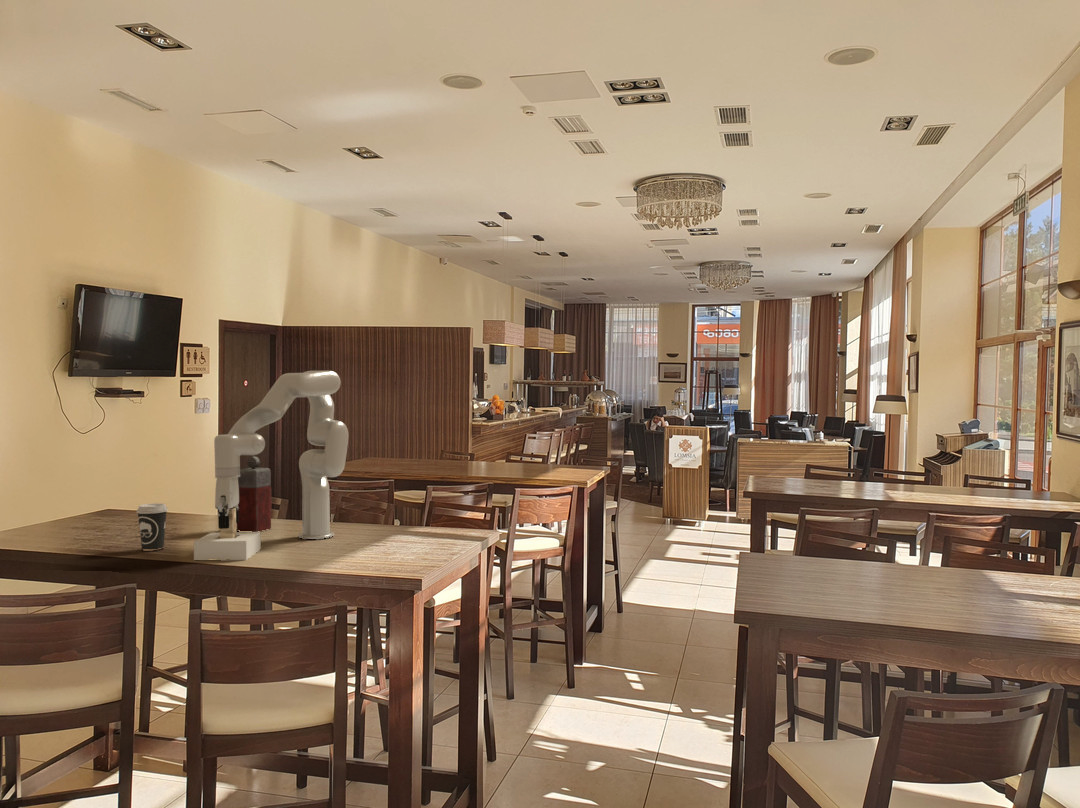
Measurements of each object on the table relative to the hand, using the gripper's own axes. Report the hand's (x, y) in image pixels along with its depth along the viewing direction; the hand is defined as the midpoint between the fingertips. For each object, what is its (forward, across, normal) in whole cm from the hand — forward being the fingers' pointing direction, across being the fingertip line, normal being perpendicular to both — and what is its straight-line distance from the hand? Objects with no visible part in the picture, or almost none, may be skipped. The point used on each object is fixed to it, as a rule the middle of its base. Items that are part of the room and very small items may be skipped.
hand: (228, 525), depth 255 cm
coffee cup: (+10, -11, -28) cm, 32 cm away
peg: (+10, 0, 0) cm, 10 cm away
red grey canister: (+10, -46, -4) cm, 47 cm away
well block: (+10, 0, 0) cm, 10 cm away
